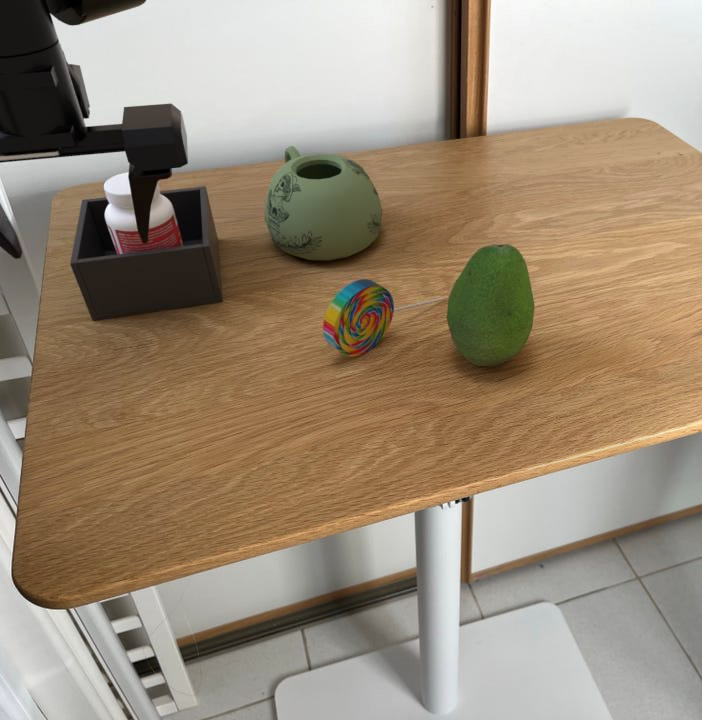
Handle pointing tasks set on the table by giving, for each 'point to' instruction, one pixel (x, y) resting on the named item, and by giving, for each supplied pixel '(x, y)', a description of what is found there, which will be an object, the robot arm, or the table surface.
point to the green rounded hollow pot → (322, 206)
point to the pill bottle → (124, 221)
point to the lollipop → (360, 317)
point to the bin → (148, 262)
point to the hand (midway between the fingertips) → (83, 248)
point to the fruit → (491, 306)
